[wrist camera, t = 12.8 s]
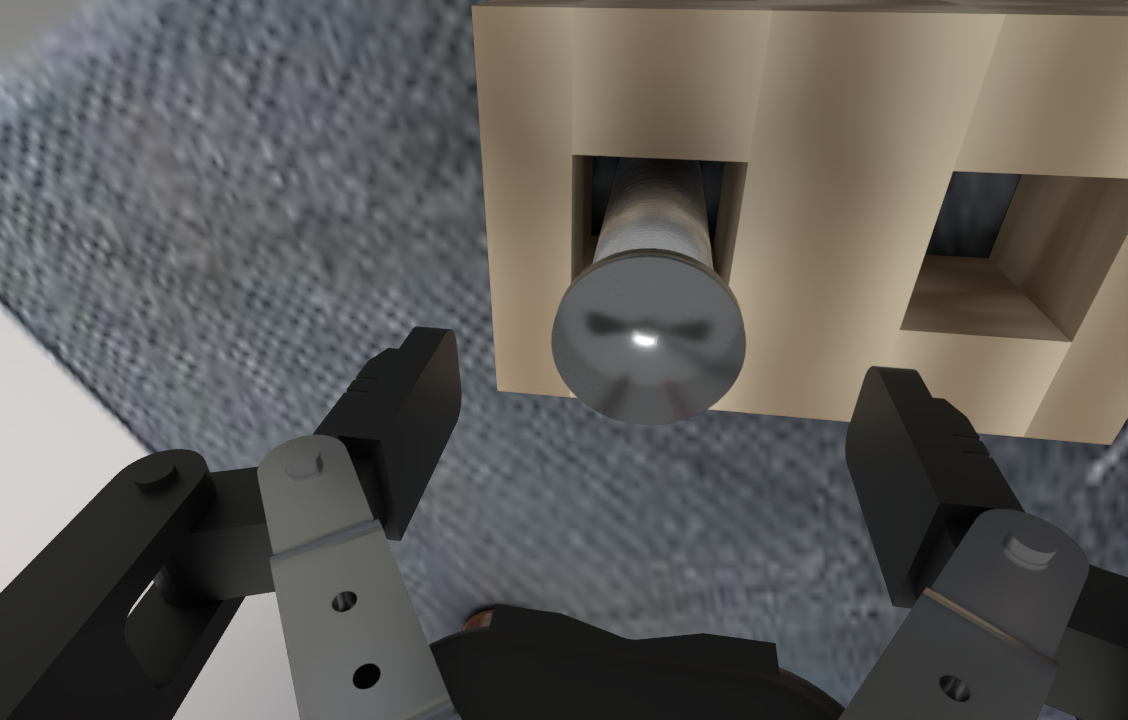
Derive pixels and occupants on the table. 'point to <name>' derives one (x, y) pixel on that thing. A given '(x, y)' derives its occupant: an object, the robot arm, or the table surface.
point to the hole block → (834, 189)
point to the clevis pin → (651, 304)
